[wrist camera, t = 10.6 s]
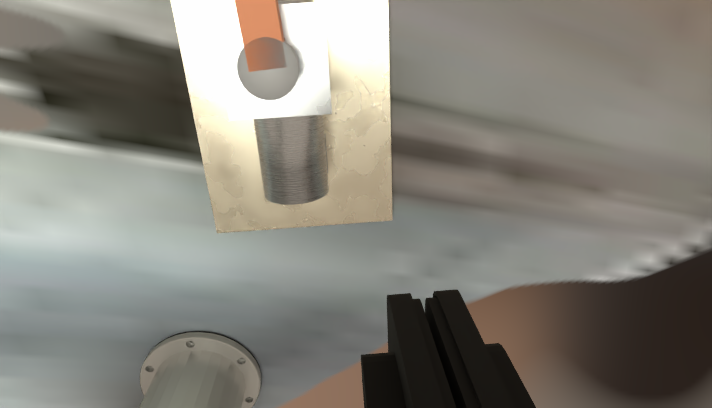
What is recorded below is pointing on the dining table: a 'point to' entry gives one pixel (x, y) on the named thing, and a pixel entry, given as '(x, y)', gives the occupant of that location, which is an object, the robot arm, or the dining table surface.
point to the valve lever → (265, 51)
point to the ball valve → (293, 116)
